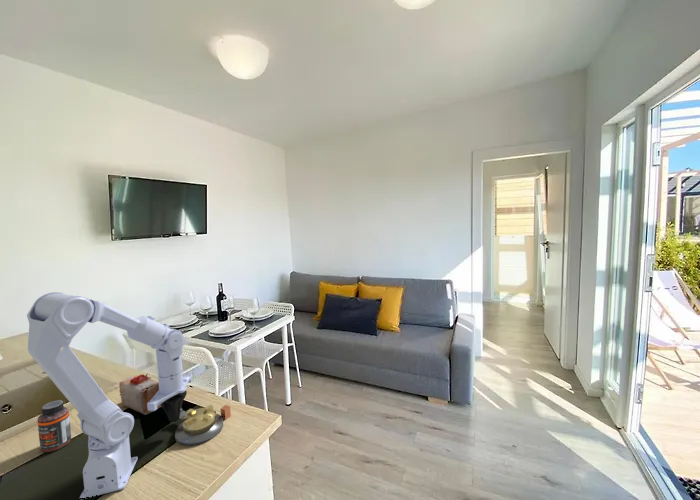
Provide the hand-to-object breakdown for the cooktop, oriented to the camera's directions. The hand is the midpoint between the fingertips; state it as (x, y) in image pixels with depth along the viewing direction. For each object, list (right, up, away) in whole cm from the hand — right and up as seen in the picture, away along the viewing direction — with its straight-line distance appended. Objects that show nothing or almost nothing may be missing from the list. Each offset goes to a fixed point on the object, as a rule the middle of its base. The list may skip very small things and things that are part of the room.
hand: (174, 419), depth 84 cm
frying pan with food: (+7, -4, +2) cm, 8 cm away
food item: (-18, -3, +14) cm, 23 cm away
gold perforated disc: (+4, -2, +2) cm, 5 cm away
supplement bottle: (-29, -5, -3) cm, 30 cm away
